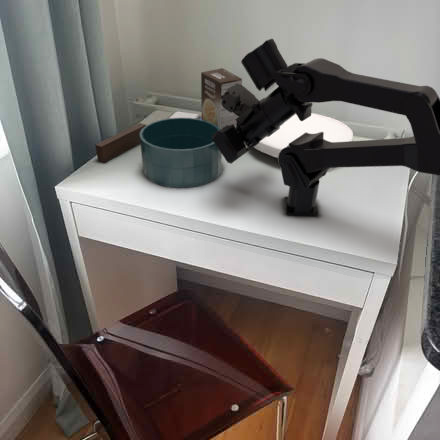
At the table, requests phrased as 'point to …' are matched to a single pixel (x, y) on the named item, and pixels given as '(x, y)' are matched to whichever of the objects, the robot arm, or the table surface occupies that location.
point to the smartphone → (184, 115)
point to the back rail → (119, 143)
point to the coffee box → (217, 96)
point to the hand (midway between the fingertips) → (222, 152)
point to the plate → (296, 128)
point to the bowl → (180, 152)
